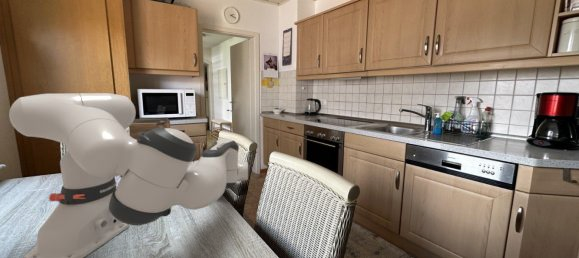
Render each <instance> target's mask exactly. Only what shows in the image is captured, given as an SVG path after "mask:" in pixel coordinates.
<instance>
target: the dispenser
mask: <svg viewBox="0 0 579 258" xmlns="http://www.w3.org/2000/svg"><path fill="white" fill-rule="evenodd" d="M162 127H165V128H171V120H170V119H169V117H164V116H163V117H160V116H159V117H158V116H157V117H152V116H151V117H139V118H135V119H134V121H133V123H132V124H131V125H130V126H129V127H128V132H129V135H130V136H131V137H132V138H134V139H136V140H139V139H140V138H139V137H138V136H137V135H138V134H139V133H140V132H148V131H150V130H152V129H156V128H162Z"/></svg>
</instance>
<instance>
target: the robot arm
mask: <svg viewBox="0 0 579 258" xmlns="http://www.w3.org/2000/svg"><path fill="white" fill-rule="evenodd" d="M136 111H137V110H136V107H135V105H134V103H133V102H132V100H131V99H130V98H129V97H127V96H126V95H122V94H118V93H117V94H116V93H110V92H83V93H81V92H80V93H78V92H77V93H75V92H74V93H40V94H33V95H26V96H21V97H18V98H17V99H16V100H15V101H14V102H13V103H12V104H11V106H10V108H9V114H8V118H9V122H10V123H11V125H12V127H13V128H14V129H15V130H16V131H17V132H18V133H20V134H21V135H23V136H25V137H30V138H31V137H33V138H42V139H47V140H50V141H51V140H52V141H55V142H58V143H61V144H64V145H65V146H66V149H67V151H66V152H65V153H64V154H63V155H62V156H61V158H60V161H59V165H60V172H61V178H62V186H61V190H60V192H58V193H53V192H52V193H50V194H49V196H48V200H49V201H50V202H58V205H57V206H56V207H55V209H53V211H52V212H51V214H50V215H49V216H48V218H47V219H46V220H45V222H44V223H43V224H42V225H41V227H40V228H39V229H38V232H37V237H36V241H37V242H36V243H37V244H36V246H34V247H33V248H32V249H31V250H30V251H28V252H27V253H26V254H25V255H24V258H85V257H86V256H89V255H90V254H92V252H94V251H95V250H97V249H98V248H100V247H101V246H103V245H104V244H106V243H107V242H109V241H111V240H112V239H113V238H115V237H116V236H117V235H119V234H120V233H122V232H123V231H125V230H127V229H128V228H129V227H130V226H144V225H147V224H150V223H153V222H155V221H158V220H159V219H160V218H162V217H168V216H170V214H172V213H171V212H172V207H174V206H180V207H182V208H184V209H187V210H200V209H203V208H207V207H208V206H211V205H212V204H213V203H215V202H216V201H218V200H219V199H220V198H221V197H222V195H223V194H224V193H225V191H226V189H233V188H234V187H235V186H236V184H237V183H238V182H244V181H248V179H249V177H250V165H249V163H248V161H245V160H239V147H240V146H239V144H238V143H237V142H236V141H235V140H234V139H231V138H221V139H218V140H215V141H214V142H213V143H212V144H211V145H210V146H209V147H207V148H206V149H205V150H203V152H202V154H201V155H200V157H199V159H198V160H197V159H196V160H194V159H195V156H196V153H197V149H198V147H197V145H196V143H195V141H194V140H192V139H191V137H190V136H189V135H188V134H186V133H185V132H183V131H181V130H179V129H175V128H171V127H170V128H165V127H162V128H156V129H152V130H150V131H148V132H140V133H139V134H138V135H137V136H138V137H139V138H140V139H139V140H136V139H134V138H132V137H131V136H130V133H128V131H127V130H126V129H127V128H128V129H129V126H130V125H131V124H132V123H133V121H134V119H136ZM191 162H192V163H191ZM121 175H122V176H121ZM118 176H121V178H120V180H119V182H118V184H117V181H116V178H117V177H118ZM115 177H116V178H115Z"/></svg>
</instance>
